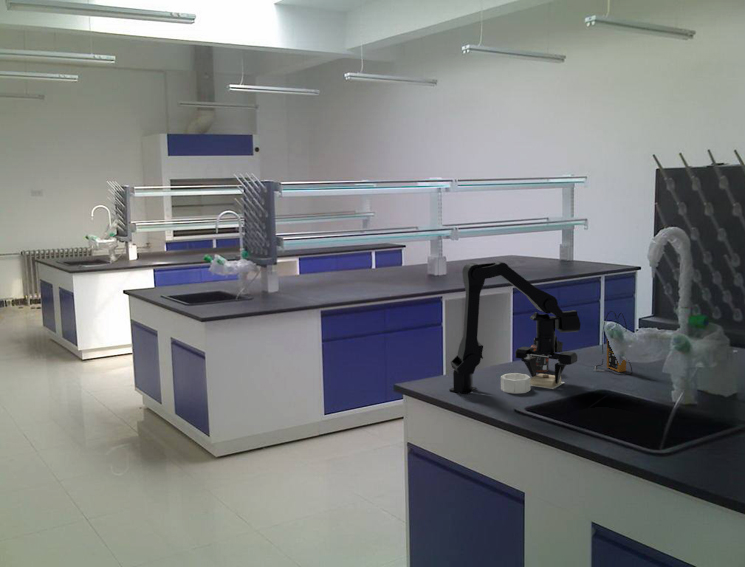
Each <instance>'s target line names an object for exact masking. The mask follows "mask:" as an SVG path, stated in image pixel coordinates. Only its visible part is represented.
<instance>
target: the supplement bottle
mask: <svg viewBox="0 0 745 567" xmlns="http://www.w3.org/2000/svg"><path fill="white" fill-rule="evenodd" d="M530 347H532V348H533V349H534V351H535V350H537V341H535V337H534V338H533V344H532V345H530ZM540 355H543V354H540ZM548 356H550V355H548ZM549 363H550V362H549V359H548V358H540V357H537V360H536V373H546V372H548V371H549V366H550V365H549Z"/></svg>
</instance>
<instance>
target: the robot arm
mask: <svg viewBox="0 0 745 567" xmlns="http://www.w3.org/2000/svg"><path fill="white" fill-rule="evenodd" d="M496 277H501V278H503V279H504V280H505V281H506V282H508V283H509V284H510V285H511V286H513V287H514V288H515V289H517V290H518V291H519V292H521V293H522V294H524V296H525V297H526V298H527V299H528V301H529V302H530V303H531V304H532V305H533V307H535V308H536V310H538V311H540V312H543V313H542V314H541V313H539V312H536V311H534V312H533V314H532V315H530V317H529V319H530V320H532V321H536V336H535V337H534V338H535V341H537V350H535V351H534V349H533V348H532V347H531V346H521V347H519V348H516V349H515V352H514V354H515V355H514V356H515V358H516V359H521V360H520V361H521V362H523V363H524V364H525V366H526V367H527V369H528V372H529V373H530V377H531V378H532V377H534V376H536V375H537V372H536V360H537V357H540V358H548V359H551V360H556V361H557V362H556V363H555V364H554V376H555V382H556V384H558V382H559V380H560V377H561V378H562V374H563V371H564V369H565V367H566V366H567V365H568V366H569V365H572V364H575V363H577V362H578V354H577V353H576V352H575V351H574V352H573V351H563V344H564V343H563V342H562V341H561V340H558V336H557V335H556V331H558V332H559V333H560V334H562V333H579V331H580V330H581V322H580V317H579V314H578V311H577V310H575V309H574V310H573V309H572V310H567V311H566V310H565V311H562V309H561V308H560V306H559V305H558V299H557V298H556V297H555V296H554V295H552V294H550V293H547V292H546V291H544V290H542V289H540V288H537V287H536V286H534V285H533V284H532V283H530V282H529V281H528V280H527V279H525V278H524V277H523V276H522V275H520V273H518V272H516V271H515V270H514V269H512V268H511V267H510V266H509V265H508V264H507V263H506V262H504V261H503V262H502V261H495V262H489V263H488V262H487V263H480V264H478V263H475V262H468V263H466V264H465V265H464V266H463V268H462V283H463V285H464V289H465V302H464V303H465V304H464V319H463V321H464V322H463V331H462V332H463V333H462V334H463V335H462V339H461V341H460V343H459V346H458V349H457V350H458V351H457V355H456V356H455V357H454V358H453V359H452V360H451V361H450V365H451V368H452V369H453V372H452V374H453V377H452V378H453V380H452V382H453V383H452V384H453V386H452V387H451V388H449V391H450V392H455V393H459V392H460V394H466V395H467V394H470V393H472V391H474V390H477V387H476V386H474V384H473V383H474V382H473V377H474V376H473V375H474V373H475V371H476V367H478V365H479V364H481V360H483V359H484V357H483V351H484V345H483V344H482V343H480V342H479V340H478V330H479V314H480V313H479V312H480V298H481V292H482V290H483V288H484V285H485V281H486V280H487V279H493V278H496ZM550 314H551V316H550ZM540 354H543V355H540ZM548 355H549V356H548Z"/></svg>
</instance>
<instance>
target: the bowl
mask: <svg viewBox="0 0 745 567" xmlns="http://www.w3.org/2000/svg"><path fill="white" fill-rule="evenodd" d="M530 378H531V376H530V375H528V374H525V373H520V372H519V373H518V372H513V373H511V372H510V373H505V374H503V375H501V376H500V390H501V391H503V393H508V394H526V393H528V392H529V391H531V386H530Z"/></svg>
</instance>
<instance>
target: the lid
mask: <svg viewBox="0 0 745 567" xmlns="http://www.w3.org/2000/svg"><path fill="white" fill-rule="evenodd" d="M561 382H562V376H561V377H560V380H559V382H558V384H559V383H561ZM558 384H556V382H555V374H547V373H538V374H536V376H534V377H532V376H531V377H530V385H536V386H543V387H550V388H552V387H554V386H556V385H558ZM536 386H535V387H536ZM543 387H542V388H543ZM550 388H549V389H550Z"/></svg>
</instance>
